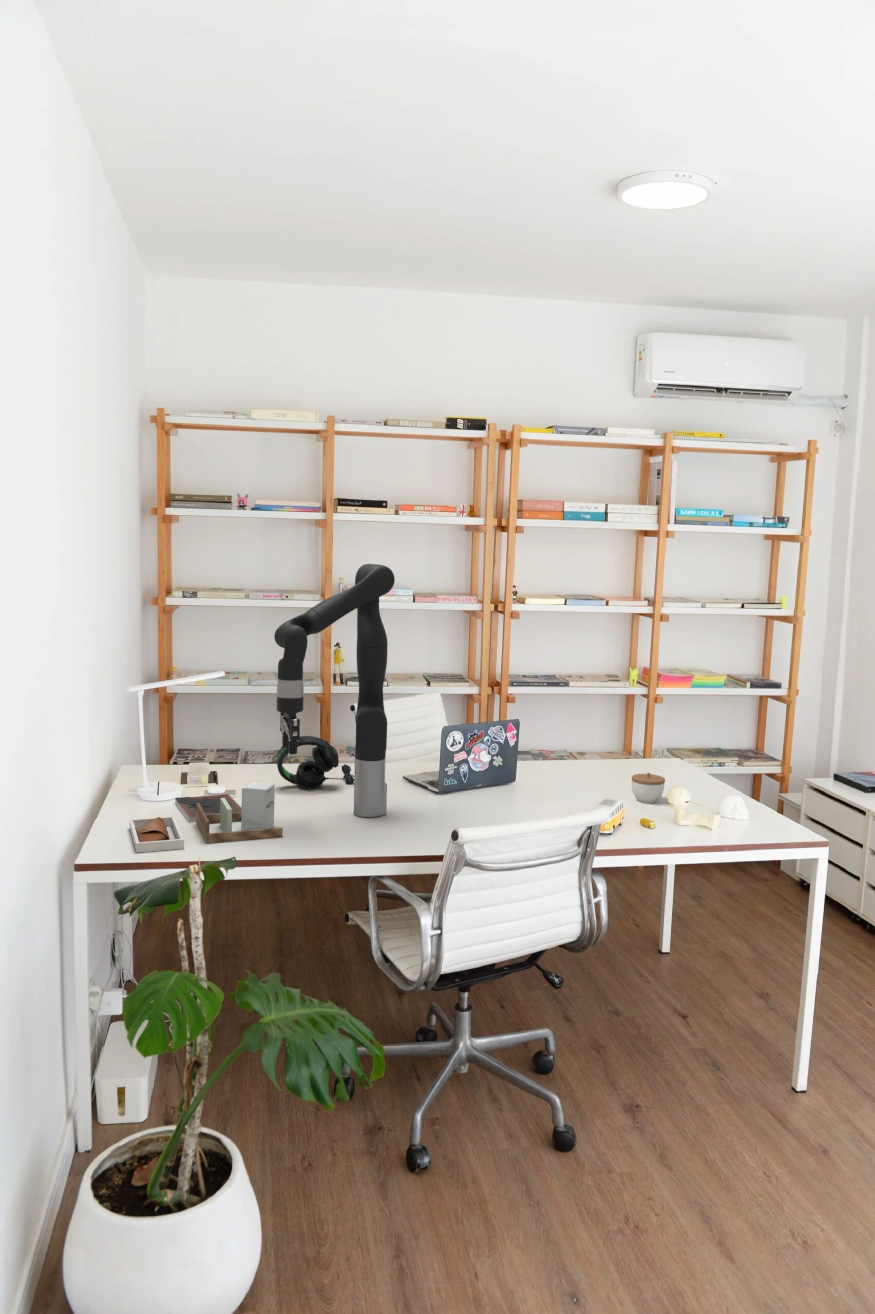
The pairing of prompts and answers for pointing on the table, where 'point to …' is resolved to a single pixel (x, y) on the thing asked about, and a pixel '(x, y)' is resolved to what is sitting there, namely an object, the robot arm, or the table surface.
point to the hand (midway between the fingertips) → (289, 750)
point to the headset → (313, 764)
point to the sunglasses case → (153, 831)
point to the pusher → (225, 815)
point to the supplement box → (257, 806)
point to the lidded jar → (647, 787)
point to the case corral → (156, 845)
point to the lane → (204, 823)
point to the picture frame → (204, 805)
